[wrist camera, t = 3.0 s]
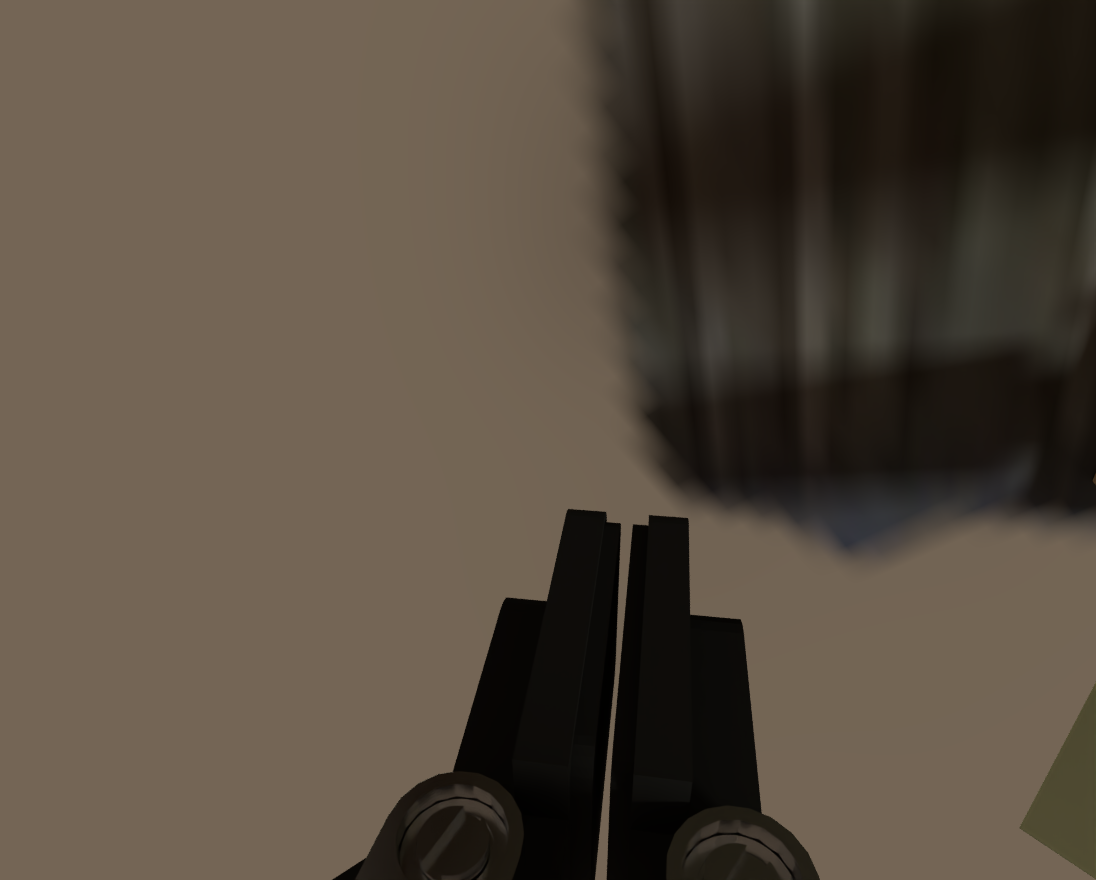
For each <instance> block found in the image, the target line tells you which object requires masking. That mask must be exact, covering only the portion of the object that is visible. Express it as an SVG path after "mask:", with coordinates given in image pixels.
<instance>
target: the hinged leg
mask: <svg viewBox="0 0 1096 880" xmlns="http://www.w3.org/2000/svg"><path fill="white" fill-rule="evenodd" d="M1020 829H1022V830H1023V831H1025V832H1026V833H1028V834H1029V835H1030V836H1032V837H1034V838H1035V839H1036V840H1038V841H1039V842H1041V843H1042V844H1044V845H1045V846H1047V847H1049V848H1050V849H1051V850H1053V851H1055V852H1056V853H1057V854H1059V855H1060V856H1062V857H1063V858H1065V859H1066V860H1068V861H1069V862H1071V863H1073V864H1074V865H1075V866H1077V867H1079V868H1080V869H1082V870H1083V871H1084V872H1086V873H1087V874H1089V875H1090V876H1092V877H1093V878H1095V879H1096V683H1095V685H1094V687H1093V689H1092V691H1091V693H1090V695H1089V697H1088V699H1087V701H1086V702H1085V704H1084V706H1083V708H1082V710H1081V712H1080V714H1079V716H1078V718H1077V720H1076V721H1075V723H1074V725H1073V727H1072V729H1071V731H1070V733H1069V735H1068V737H1067V738H1066V741H1065V742H1064V744H1063V746H1062V748H1061V750H1060V752H1059V754H1058V756H1057V758H1056V759H1055V761H1054V763H1053V765H1052V767H1051V769H1050V771H1049V773H1048V775H1047V777H1046V778H1045V780H1044V782H1043V784H1042V786H1041V788H1040V790H1039V792H1038V794H1037V796H1036V798H1035V799H1034V801H1033V803H1032V805H1031V807H1030V809H1029V811H1028V813H1027V815H1026V817H1025V818H1024V820H1023V822H1022V824H1021V826H1020Z"/></svg>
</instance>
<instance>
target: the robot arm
mask: <svg viewBox="0 0 1096 880" xmlns="http://www.w3.org/2000/svg"><path fill="white" fill-rule="evenodd" d="M606 516H607V515H606V512H599V511H586V510H573V509H568V510H567V513H566V517H565V522H564V526H563V531H562V536H561V540H560V544H559V549H558V553H557V558H556V562H555V567H554V572H553V576H552V581H551V585H550V590H549V594H548V599H547V601H538V600H527V599H517V598H506V599H505V600H504V602H503V604H502V607H501V610H500V613H499V616H498V620H497V623H496V627H495V630H494V634H493V637H492V640H491V644H490V647H489V650H488V654H487V657H486V661H485V664H484V667H483V671H482V674H481V678H480V681H479V684H478V688H477V691H476V695H475V698H474V702H473V705H472V708H471V712H470V715H469V719H468V722H467V726H466V729H465V733H464V736H463V739H462V742H461V746H460V749H459V752H458V756H457V759H456V763H455V766H454V770H453V772H450V773H444V774H438V775H436V776H434V777H431V778H429V779H427V780H425V781H423V782H421V783H418V784H417V785H416V786H415V787H413V788H412V789H411V790H410V791H409V792H407V793H406V794H405V795H404V796H403V797H401V799H400V800H399V801H398V803H397V804H396V806H395V807H394V808H393V810H392V811H391V813H390V814H389V816H388V817H387V819H386V821H385V823H384V825H383V827H382V829H381V831H380V833H379V835H378V836H377V838H376V840H375V842H374V844H373V846H372V848H371V850H370V852H369V854H368V856H367V858H365V859H364V860H362V861H361V862H359V863H357V864H356V865H354V866H353V867H351V868H350V869H348V870H347V871H345V872H344V873H342V874H341V875H339V876H338V877H336V878H334V879H333V880H595V874H596V873H595V872H596V863H597V853H598V843H599V832H600V822H601V812H602V801H603V791H604V781H605V771H606V760H607V750H608V739H609V728H610V719H611V709H612V698H613V688H614V677H615V662H616V638H617V613H618V612H617V611H618V587H619V560H620V536H621V524H620V523H609V522H606V521H607V517H606ZM689 582H690V581H689V521H688V518H680V517H666V516H653V515H649V526H647V525H633V530H632V541H631V553H630V564H629V574H628V585H627V597H626V607H625V619H624V630H623V641H622V652H621V663H620V674H619V686H618V696H617V707H616V718H615V729H614V730H615V731H614V741H613V753H612V768H611V783H610V807H609V833H608V859H607V880H820V879H819V876H818V874H817V871H816V869H815V867H814V865H813V863H812V861H811V858H810V856H809V854H808V852H807V851H806V850H805V849H804V847H803V846H802V845H801V844H800V843H799V841H798V840H797V839H796V838H795V836H794V835H793V834H792V833H791V832H790V831H788V830H787V829H786V828H784V827H783V826H782V825H780V824H779V823H778V822H777V821H775V820H774V819H772V818H771V817H769V816H766V815H764V814H762V812H761V802H760V792H759V782H758V772H757V762H756V752H755V742H754V732H753V721H752V711H751V701H750V691H749V682H748V671H747V661H746V651H745V642H744V632H743V625H742V622H741V620H740V619H730V618H719V617H709V616H698V615H690V587H689V586H690V585H689V584H690V583H689Z"/></svg>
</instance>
